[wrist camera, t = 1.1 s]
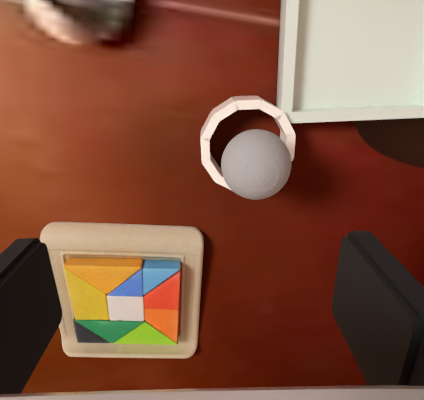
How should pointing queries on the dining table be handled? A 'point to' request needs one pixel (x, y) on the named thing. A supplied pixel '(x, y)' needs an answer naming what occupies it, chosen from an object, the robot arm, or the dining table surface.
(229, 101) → the holder ring
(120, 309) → the wooden puzzle
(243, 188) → the light bulb
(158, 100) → the dining table surface
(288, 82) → the tray
